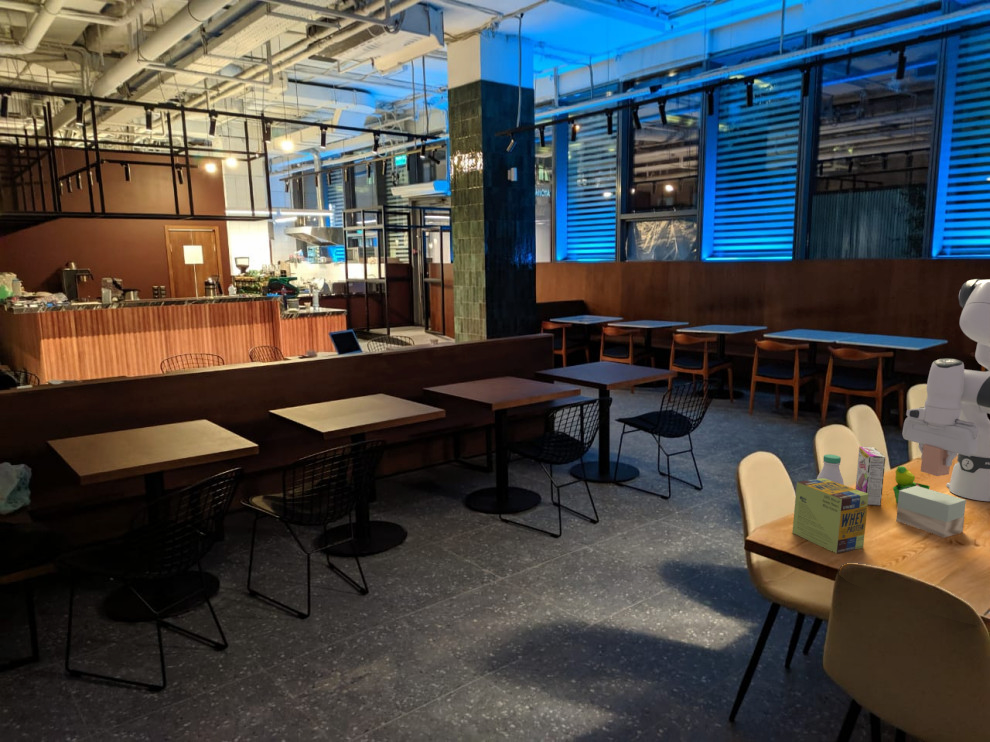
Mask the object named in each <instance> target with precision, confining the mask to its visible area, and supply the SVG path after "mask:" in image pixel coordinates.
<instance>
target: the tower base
mask: <svg viewBox="0 0 990 742" xmlns="http://www.w3.org/2000/svg"><path fill="white" fill-rule="evenodd" d="M898 521H899V522H898ZM896 522H898V523H901V522H902V523H901V524H904V523H905V525H906V524H907V526H909V525H911V526H910V527H912V526H914V527H913V528H915V527H916V528H915V529H918V528H919V529H918V530H920V529H922V530H921V531H923V530H925V531H924V532H926V531H927V532H926V533H929V532H930V533H929V534H932V533H933V534H932V535H934V534H935V535H934V536H937V535H938V536H937V537H940V538H943V539H944V538H948V537H951V536H955V535H958V534H961V532H962V533H964V524H965V516H964V517H961V518H958V519H955V520H952V521H949V522H944V521H941V520H938V519H935V518H932V517H929V516H926V515H922V514H919V513H916V512H913V511H910V510H907V509H904V508H900V507H897V510H896Z"/></svg>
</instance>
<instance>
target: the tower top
mask: <svg viewBox="0 0 990 742" xmlns="http://www.w3.org/2000/svg"><path fill="white" fill-rule="evenodd" d="M966 503H967V499H966V498H965V499H964V498H962V497H957V496H953V495H949V494H947V493H943V492H939V491H935V490H932V489H930V488H929V489H926V488H922V487H919V486H914V487H910V488H907V489H903V490H899V497H898V503H897V506H896V507H897V508H898V507H900V508H904V509H907V510H910V511H913V512H916V513H919V514H922V515H926V516H929V517H932V518H935V519H938V520H941V521H944V522H949V521H952V520H955V519H958V518H961V517H964V518H965V511H966Z"/></svg>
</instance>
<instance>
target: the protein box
mask: <svg viewBox="0 0 990 742" xmlns="http://www.w3.org/2000/svg"><path fill="white" fill-rule="evenodd" d="M868 495H869V494H868V493H865V492H862V491H859V490H856V488H853V487H850V486H847V485H845V484H844V485H842V484H839V483H836V482H833V481H831V480H828V479H825V478H821V479H817V478H816V479H807V480H803V481H797V482H796V488H795V500H794V501H795V502H794V508H793V509H794V510H793V522H792V530H791V531H792V534H794V535H796V536H799V537H800V538H802V539H805V540H806V541H809V542H811V543H813V544H815V545H817V546H820V547H821V548H823V547H824V549H825V548H826V549H825V550H828V551H830V552H832V551H833V552H832V553H834V552H835V553H834V554H836V553H837V554H840V552H841V553H844V552H849V551H853V550H854V551H855V550H858V549H863V548H864V544H865V533H866V523H867V522H866V521H867V515H868V514H867V512H868V506H869V505H868Z"/></svg>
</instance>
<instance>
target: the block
mask: <svg viewBox="0 0 990 742" xmlns="http://www.w3.org/2000/svg"><path fill="white" fill-rule="evenodd" d="M921 456H922V458H921V463H920V464H921V466H920V472H922V473H924V474H925V473H926V474H929V475H932V476H935V477H940V476H947V475H950V468H951V466H945V465H943V459H947V458H948V456H949V455H948V451H947V450H943V449H941V448H937V447H934V446H930V445H926V444H925V445H924V446H923V455H922V454H921Z"/></svg>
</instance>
